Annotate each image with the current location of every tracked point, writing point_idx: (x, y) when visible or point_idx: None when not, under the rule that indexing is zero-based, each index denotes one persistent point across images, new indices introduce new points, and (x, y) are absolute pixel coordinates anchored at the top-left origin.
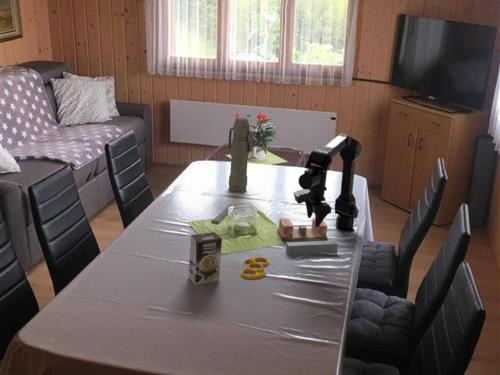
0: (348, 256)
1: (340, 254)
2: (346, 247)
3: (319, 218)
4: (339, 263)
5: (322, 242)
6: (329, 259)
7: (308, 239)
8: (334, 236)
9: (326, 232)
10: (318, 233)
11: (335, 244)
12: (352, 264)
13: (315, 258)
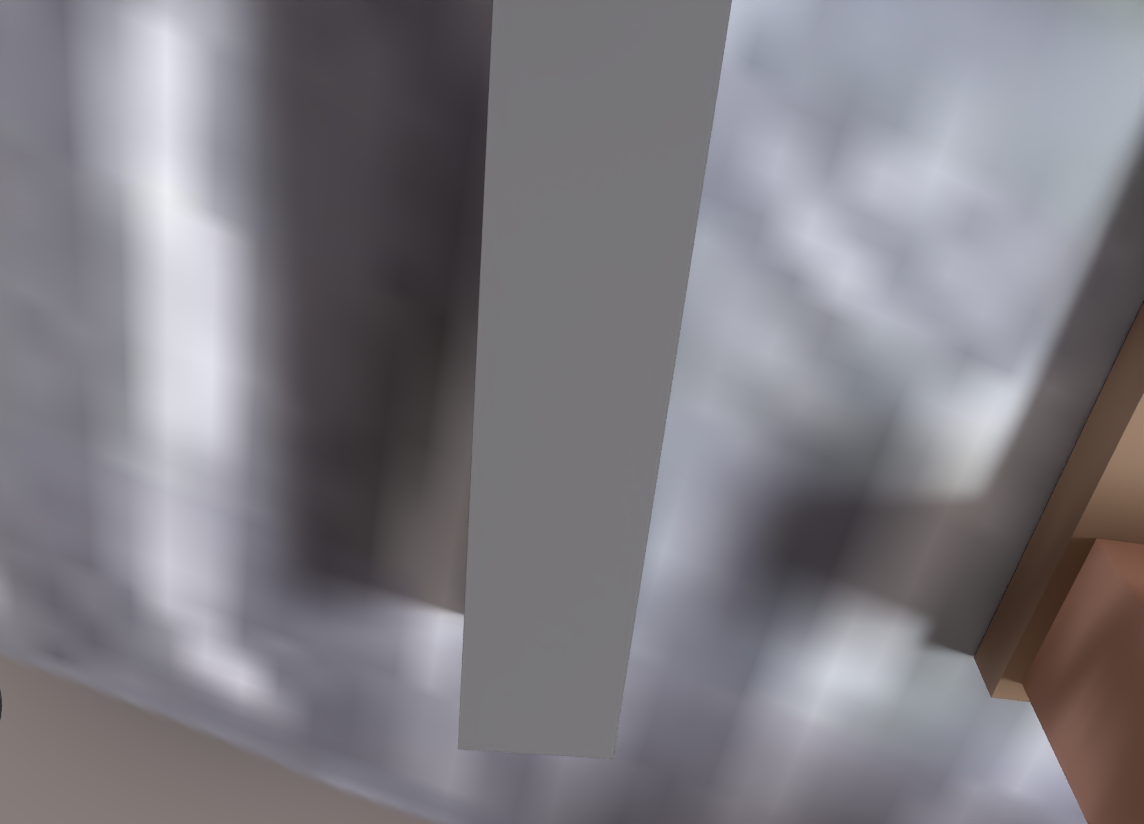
0: (307, 707)
1: (392, 633)
2: (624, 792)
3: None
4: (37, 492)
5: (572, 513)
6: (202, 396)
7: (1126, 360)
8: (1050, 790)
9: (1057, 751)
10: (1116, 614)
11: (462, 698)
12: (14, 654)
13: (256, 145)
